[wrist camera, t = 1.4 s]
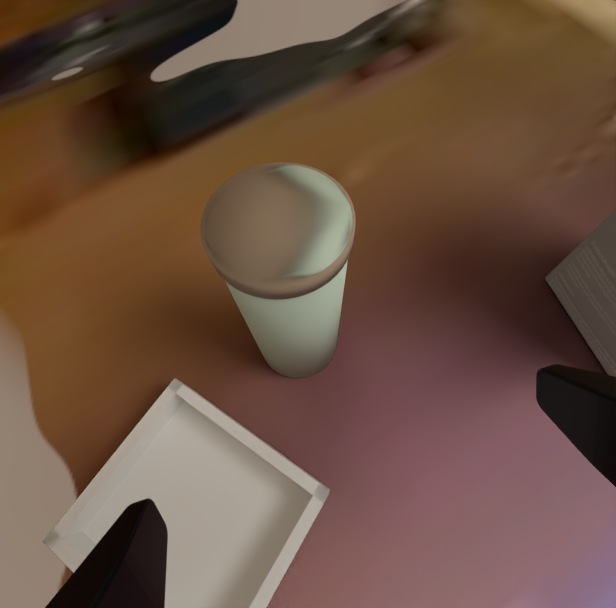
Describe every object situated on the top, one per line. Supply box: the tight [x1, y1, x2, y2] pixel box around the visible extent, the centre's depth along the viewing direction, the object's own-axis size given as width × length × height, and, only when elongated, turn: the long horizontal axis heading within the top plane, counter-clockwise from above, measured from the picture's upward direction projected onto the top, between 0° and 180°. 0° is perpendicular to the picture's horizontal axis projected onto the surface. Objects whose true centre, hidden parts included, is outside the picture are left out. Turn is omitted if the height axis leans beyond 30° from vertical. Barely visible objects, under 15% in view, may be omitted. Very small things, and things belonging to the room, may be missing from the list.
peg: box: [201, 162, 356, 378], centre depth 17 cm, size 5×5×12 cm
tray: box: [43, 378, 330, 608], centre depth 17 cm, size 9×10×2 cm
